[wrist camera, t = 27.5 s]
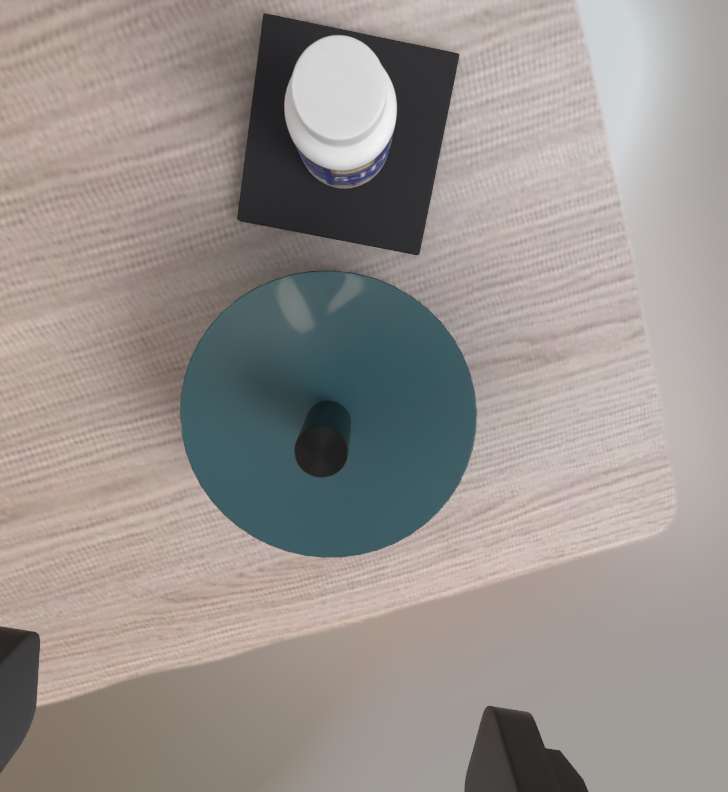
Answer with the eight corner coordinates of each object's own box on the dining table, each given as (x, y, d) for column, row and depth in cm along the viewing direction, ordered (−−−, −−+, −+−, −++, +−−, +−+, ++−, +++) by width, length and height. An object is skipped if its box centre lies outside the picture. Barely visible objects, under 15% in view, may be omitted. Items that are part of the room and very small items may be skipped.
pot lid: (204, 244, 27) (162, 236, 22) (502, 301, 28) (538, 308, 22) (171, 523, 31) (127, 580, 25) (439, 568, 31) (455, 634, 26)
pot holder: (265, 19, 30) (263, 12, 30) (457, 58, 31) (459, 53, 30) (239, 221, 33) (236, 219, 32) (418, 255, 33) (419, 254, 32)
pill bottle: (341, 209, 32) (332, 184, 23) (279, 137, 31) (246, 83, 22) (409, 144, 31) (427, 93, 22) (348, 68, 30) (342, -15, 21)
